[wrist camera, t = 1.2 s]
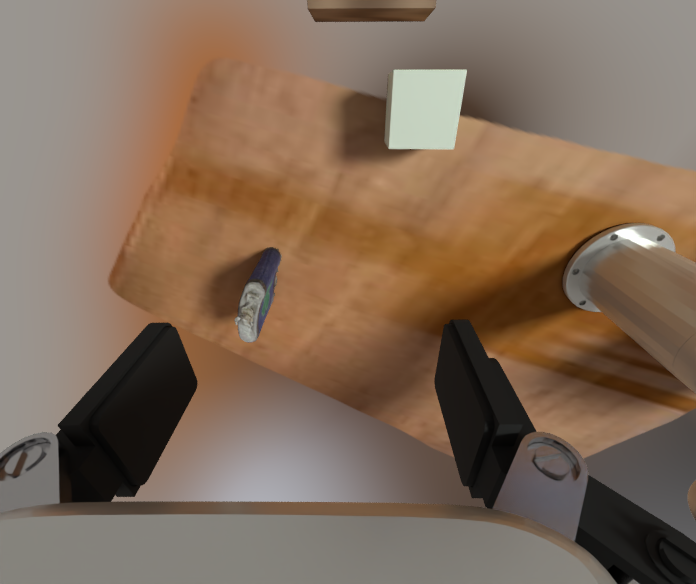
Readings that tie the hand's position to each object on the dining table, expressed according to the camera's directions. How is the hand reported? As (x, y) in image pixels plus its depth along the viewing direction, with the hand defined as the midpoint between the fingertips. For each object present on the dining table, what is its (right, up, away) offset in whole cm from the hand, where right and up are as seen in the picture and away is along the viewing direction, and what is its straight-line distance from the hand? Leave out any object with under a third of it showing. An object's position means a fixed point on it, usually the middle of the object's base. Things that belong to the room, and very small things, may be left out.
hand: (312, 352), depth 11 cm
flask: (-10, +4, +32) cm, 34 cm away
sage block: (+8, +21, +21) cm, 31 cm away
